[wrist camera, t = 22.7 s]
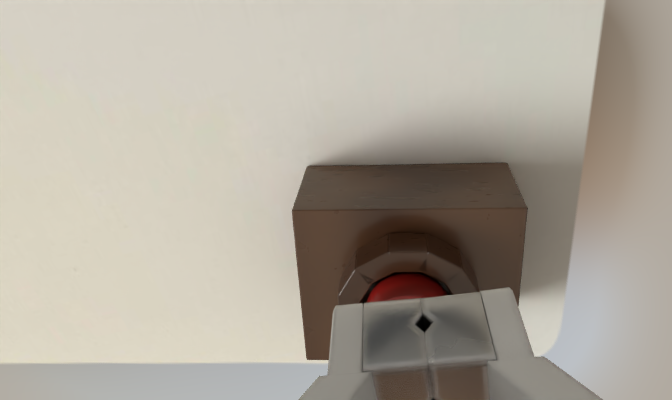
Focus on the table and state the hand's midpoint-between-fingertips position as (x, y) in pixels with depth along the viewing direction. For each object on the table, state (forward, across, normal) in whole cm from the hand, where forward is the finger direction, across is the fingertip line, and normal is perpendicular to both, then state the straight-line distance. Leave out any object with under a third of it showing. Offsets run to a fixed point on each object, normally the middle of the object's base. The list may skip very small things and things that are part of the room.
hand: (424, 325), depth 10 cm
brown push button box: (+24, +1, +14) cm, 28 cm away
